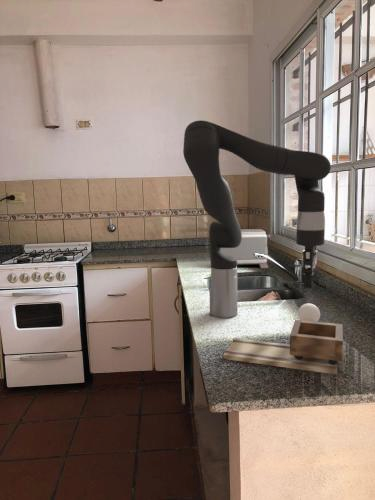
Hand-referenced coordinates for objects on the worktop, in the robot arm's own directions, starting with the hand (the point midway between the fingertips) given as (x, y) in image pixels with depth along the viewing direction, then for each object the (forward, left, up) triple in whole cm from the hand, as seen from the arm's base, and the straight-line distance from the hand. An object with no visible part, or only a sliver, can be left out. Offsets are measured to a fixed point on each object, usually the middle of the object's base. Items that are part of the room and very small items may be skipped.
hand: (309, 284), depth 110 cm
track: (-6, -14, -17) cm, 22 cm away
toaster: (-45, +107, -17) cm, 117 cm away
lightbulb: (0, 0, -17) cm, 17 cm away
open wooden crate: (+3, -14, -15) cm, 21 cm away
